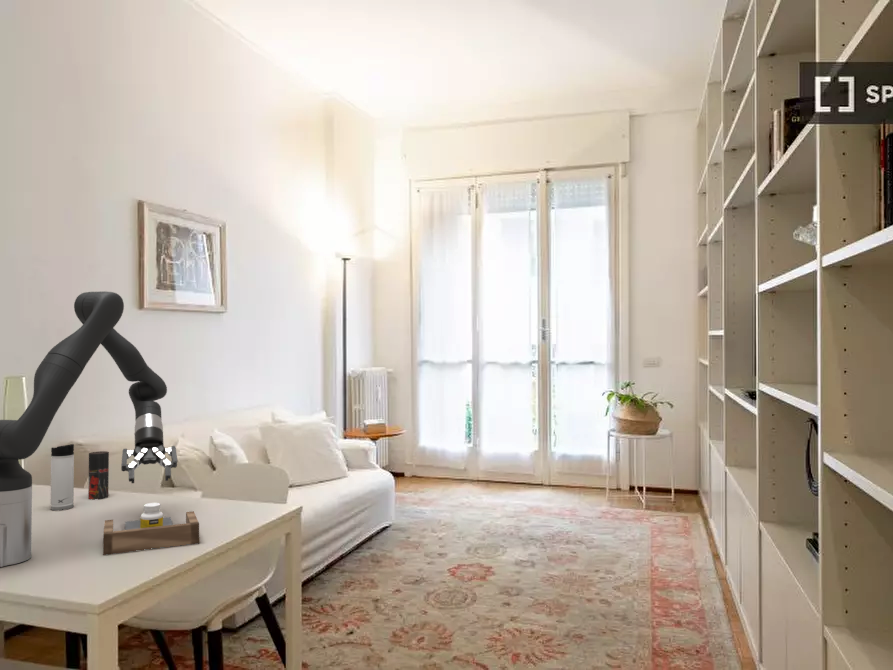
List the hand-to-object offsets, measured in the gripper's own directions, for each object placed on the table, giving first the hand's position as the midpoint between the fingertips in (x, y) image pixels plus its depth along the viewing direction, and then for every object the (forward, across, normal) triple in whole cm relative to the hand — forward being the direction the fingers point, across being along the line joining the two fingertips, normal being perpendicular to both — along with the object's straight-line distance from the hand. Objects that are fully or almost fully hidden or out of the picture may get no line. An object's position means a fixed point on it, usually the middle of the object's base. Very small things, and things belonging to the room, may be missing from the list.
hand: (150, 480), depth 182 cm
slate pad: (+5, 0, +15) cm, 16 cm away
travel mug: (-19, -24, +39) cm, 49 cm away
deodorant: (-27, -14, +47) cm, 56 cm away
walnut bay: (+17, 0, +3) cm, 18 cm away
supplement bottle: (+18, 0, +3) cm, 18 cm away
